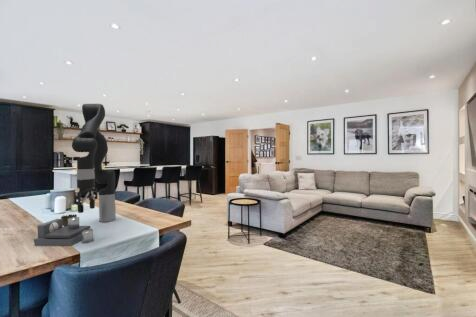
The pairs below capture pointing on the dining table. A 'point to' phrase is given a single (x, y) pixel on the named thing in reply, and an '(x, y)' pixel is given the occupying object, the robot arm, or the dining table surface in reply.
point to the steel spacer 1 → (73, 223)
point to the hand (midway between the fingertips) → (86, 210)
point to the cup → (65, 219)
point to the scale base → (51, 227)
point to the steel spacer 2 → (87, 236)
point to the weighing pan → (66, 232)
